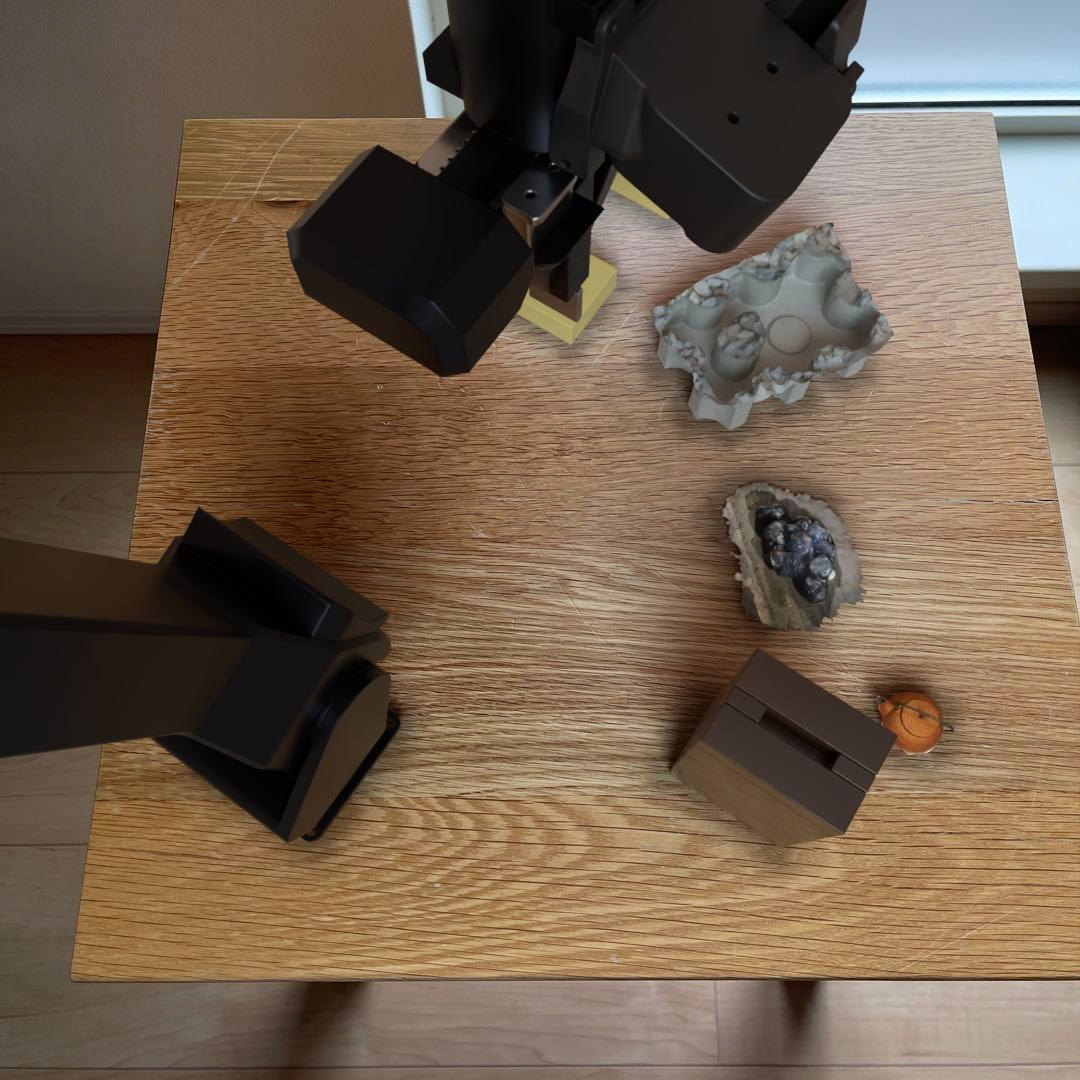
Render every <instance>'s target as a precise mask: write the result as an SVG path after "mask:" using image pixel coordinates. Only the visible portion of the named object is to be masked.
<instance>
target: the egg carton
mask: <svg viewBox="0 0 1080 1080" xmlns="http://www.w3.org/2000/svg"><path fill="white" fill-rule="evenodd" d="M834 228H835V225H834V222H830V221H829V222H825V223H823V224H821V225H819V226H814V225H813V226H812V227H809V228H806V229H805V230H804V231H802V232H798V233H794V234H792V235H790V236H789V237H787V238H784V239H783V240H781V241H779V242H777V243H776V244H775V245H774V246H772V248H771V249H770V250H768V251H766V252H764V253H760V254H757V255H754V256H753V255H752V256H749V257H746V258H743V260H742V261H741V262H740V263H738V264H735V265H733V266H731V267H728V268H726V269H724V270H722V271H719V272H717V273H713V274H709V275H706V276H705V277H703V278H702V279H701V280H699V281H698V282H696V283H695V284H692V285H691V286H690V287H689V288H687V289H686V290H684V291H683V292H682V293H680V294H679V295H677V296H675V297H673V298H672V299H671V300H670V301H669V302H668V303H667V304H665V305H660V304H659V305H657V306H655V307H654V308H652V309H651V310H650V311H649V312H648V313H649V314H652V315H653V318H654V327H655V329H656V330H657V332H658V334H659V335H660V336H659V341H658V345H657V351H656V356H657V358H658V359H659V361H660V362H661V365H662V367H663V368H664V369H666V370H667V369H670V368H673V369H681V370H684V371H685V372H687V373H690V374H691V376H693V378H692V381H693V385H692V390H691V393H690V396H689V398H688V402H687V407H688V408H689V410H690V412H691V414H692V415H693V417H694V419H696V420H702V419H706V420H712V421H713V420H714V421H716V422H718V423H720V424H721V425H722V426H723V427H724V428H725V429H726V431H732V430H734V429H736V428H739V427H741V426H743V425H744V424H745V423H746V422H747V419H748V417H749V415H750V411H751V409H752V406H753V403H754V404H755V403H759V402H762V401H765V400H767V399H769V398H770V397H771V396H773V397H775V398H777V399H779V400H780V401H782V402H783V403H784V404H785V405H790V404H793V403H795V402H797V401H800V400H801V399H802V398H803V397H804V396H805V395H806V392H807V389H808V388H809V385H810V382H811V381H813V380H816V379H818V378H821V377H823V376H826V375H829V374H833V373H835V374H837V375H838V376H839V377H840V378H844V379H846V378H849V377H852V376H854V375H856V374H857V373H858V372H860V371H861V370H862V369H863V367H864V365H865V363H866V360H867V359H868V357H869V356H870V355H872V354H874V353H876V352H877V351H879V350H880V349H882V348H883V347H884V346H885V345H886V344H887V343H888V342H889V340H890V339H892V337H894V335H895V333H894V331H893V330H892V328H891V326H890V324H889V321H888V319H887V317H886V315H885V313H882V312H880V311H879V310H878V307H877V306H876V305H875V303H874V301H873V298H872V294H871V292H870V291H869V289H868V288H866V289H863V290H862V289H861V288H860V286H859V285H858V283H857V281H855V279H854V278H853V276H852V262H851V259H850V257H849V254H848V251H846V249H845V247H844V246H843V244H842V243H841V242H840V240H839V238H838V236H837V234H836V233H835V231H834Z"/></svg>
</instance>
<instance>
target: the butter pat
mask: <svg viewBox="0 0 1080 1080" xmlns="http://www.w3.org/2000/svg"><path fill="white" fill-rule="evenodd" d="M610 191H613V192H615V193H617V194H619V195H620V196H622V197H624V198H626V199H628V200H630V201H632V202H634V203H636V204H638V205H640V206H641V207H643V208H645V209H647V210H649V211H650V212H652V213H654V214H656V215H659V216H660V217H662V218H663V219H666V220H670V218H671V217H669V216H668V215H667V214H666V213H665V212H664V211H662V210H661V209H660V208H659V207H658V206H657V205H655V204H654V203H653V202H652V201H651V200H650V199H648V198H647V197H646V196H645V195H644V194H643V193H641V192H640V191H639V190H638V189H637V188H636V187H634V186H633V185H632V184H631V183H630V182H629V181H627V180H626V179H625V178H624V177H623V176H622V175H621V174H620V173H619V172H617V174H616V177H615V179H614V181H613V183H612V185H611V188H610Z"/></svg>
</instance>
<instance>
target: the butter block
mask: <svg viewBox="0 0 1080 1080" xmlns="http://www.w3.org/2000/svg"><path fill="white" fill-rule="evenodd" d="M618 270H619V269H618V268H617V267H616V266H614V265H612V264H610V263H608V262H607V261H604V260H603V259H601V258H599V257H598V256H596V255H594V254H592V253H590V266H589V276H588V278H587V279H586V280H585V281H584V283H583V284H582V285H581V286H580V287H582V288H583V297H582V317H581V318H580V319H579V321H578V322H577V323H576V322H574V321H572V320H571V319H569V318H567V317H565V316H564V315H562V314H560V313H558V312H557V311H555V310H553V309H551V308H550V307H548V306H546V305H544V304H543V303H541V302H539V301H537V300H536V299H534V298H532V297H530V296H529V289H528V292H527V294H526V296H525V299H524V301H523V304H522V306H521V308H520V310H519V311H518V313H517V314H516V315H518V316H520V317H522V318H523V319H524V320H526V321H528V322H530V323H531V324H533V325H535V326H537V327H538V328H540V329H542V330H544V331H546V332H547V333H549V334H550V335H553V336H555V337H556V338H558V339H559V340H561V341H563V342H564V343H567V344H568V345H570V346H572V345H573V344H574V342H575V341H576V340H577V339H578V337H579V336H580V334H581V333H582V332H583V331H584V329H585V328H586V327H587V325H589V323H590V321H591V320H592V319H593V318H594V316H595V314H597V313H598V311H599V310H600V309H601V307H602V306H603V305H604V303H605V302H606V300H607V299H608V298H609V297H610V295H612V293H613V291H615V289H616V288H617V279H618V272H619V271H618Z"/></svg>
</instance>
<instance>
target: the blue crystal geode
mask: <svg viewBox="0 0 1080 1080" xmlns="http://www.w3.org/2000/svg"><path fill="white" fill-rule="evenodd" d="M724 506H725V507H723V509H722V510H721V511H722V515H721V517H725V518H726V519H727V521H726V522H725V523H726V525H729V526H728V532H727V533H728V534H729V535H728V536H727V538H729V539H730V540H731V542H732V543H733V544H735V545H736V546H737V547H738V549H739V550H740V553H741V554H740V555H739V554H736V553H733V552H729V554H730V555H733V556H734V557H735V559H736V560H737V559H739V562H737V564H738V565H741V566H740V571H741V573H740V572H739V571H737V572H736V573H735V575H734V580H736V581H737V582H740V581H742V582H741V583H742V587H741V590H742V592H741V595H742V600H741V606H743V607H745V610H746V611H745V613H746V614H745V615H746V616H748V617H750V616H751V617H752V620H754V621H755V620H756V622H757V623H759V624H760V625H763V626H765V625H766V626H770V627H771V628H774V629H777V630H779V629H780V630H783V629H784V630H789V631H792V629H793V628H794V627H795V625H797V626H798V629H799V630H800V631H801V632H803V633H805V632H806V633H809V634H812V633H813V632H815V630H819V629H820V628H821V627H822V623H823V620H824V618H826V619H828V620H830V622H834V618H835V617H837V616H838V615H840V613H839V612H838V610H839V609H840V608H841V607H840V605H841V604H846V603H847V604H848V605H853V606H856V605H857V602H858V603H859V602H861V603H862V604H864V603H865V601H864V596H863V595H862V594H864V595H866V596H867V590H866V589H865V588H863V587H862V586H861V582H862V581H863V576H862V575H863V574H862V573H863V572H862V567H861V566H862V562H861V561H860V558H859V557H858V556H859V552H858V550H855V549H854V548H852V547H853V546H852V543H851V542H853V541H854V539H853V538H851V537H850V536H849V534H846V533H847V532H848V529H846V528H847V525H846V523H844V522H843V520H842V519H841V517H839V516H838V514H837V513H835V511H834V510H833V509H831V508H830V507H829V504H828V502H827V501H824V500H822V499H813V498H811V495H809V494H808V493H807V492H804V493H801V494H800V493H799V492H798V493H797V495H796V496H795V495H794V493H792V492H790V490H789V489H788V488H786V489H784V490H782V489H781V488H780V487H777V486H772V485H770V484H769V483H768V482H761V481H760V482H759V481H757V482H751V483H747V484H745V485H742V486H741V487H738V486H737V487H736V490H735V493H734V494H733V495H729V496H728V497H727V498H726V504H724Z"/></svg>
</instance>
